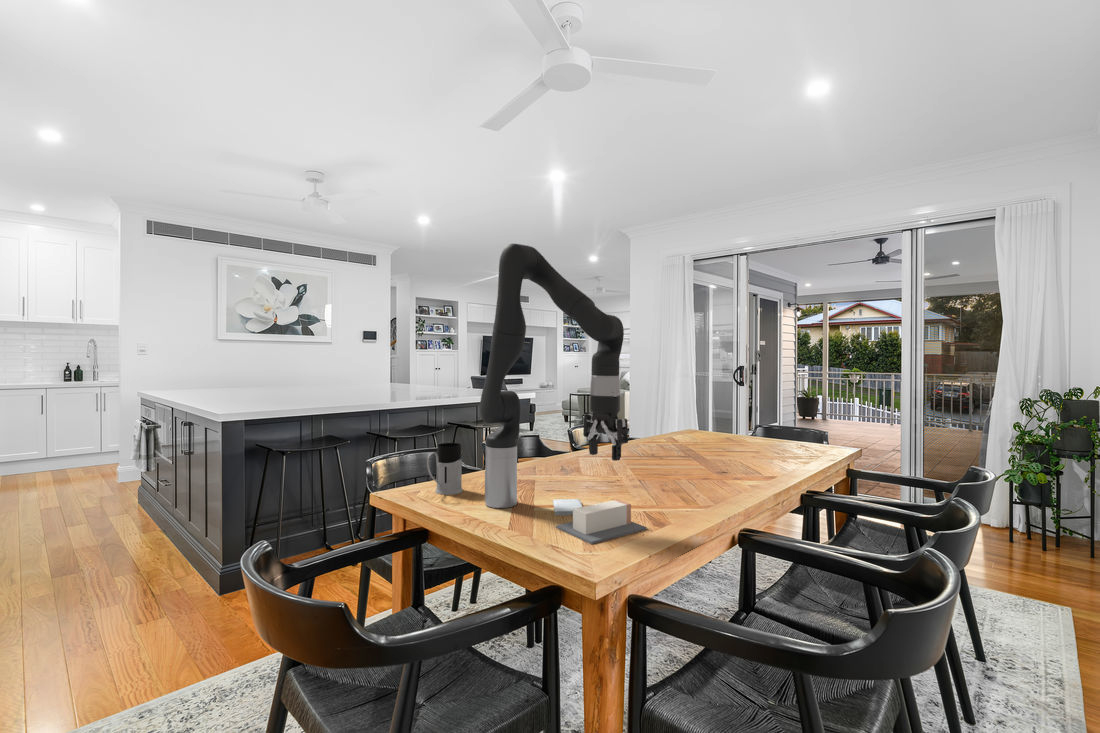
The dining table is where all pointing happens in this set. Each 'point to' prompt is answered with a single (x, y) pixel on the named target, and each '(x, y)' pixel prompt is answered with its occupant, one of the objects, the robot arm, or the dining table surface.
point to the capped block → (601, 516)
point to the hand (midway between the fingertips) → (604, 457)
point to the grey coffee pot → (448, 468)
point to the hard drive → (566, 506)
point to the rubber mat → (602, 532)
